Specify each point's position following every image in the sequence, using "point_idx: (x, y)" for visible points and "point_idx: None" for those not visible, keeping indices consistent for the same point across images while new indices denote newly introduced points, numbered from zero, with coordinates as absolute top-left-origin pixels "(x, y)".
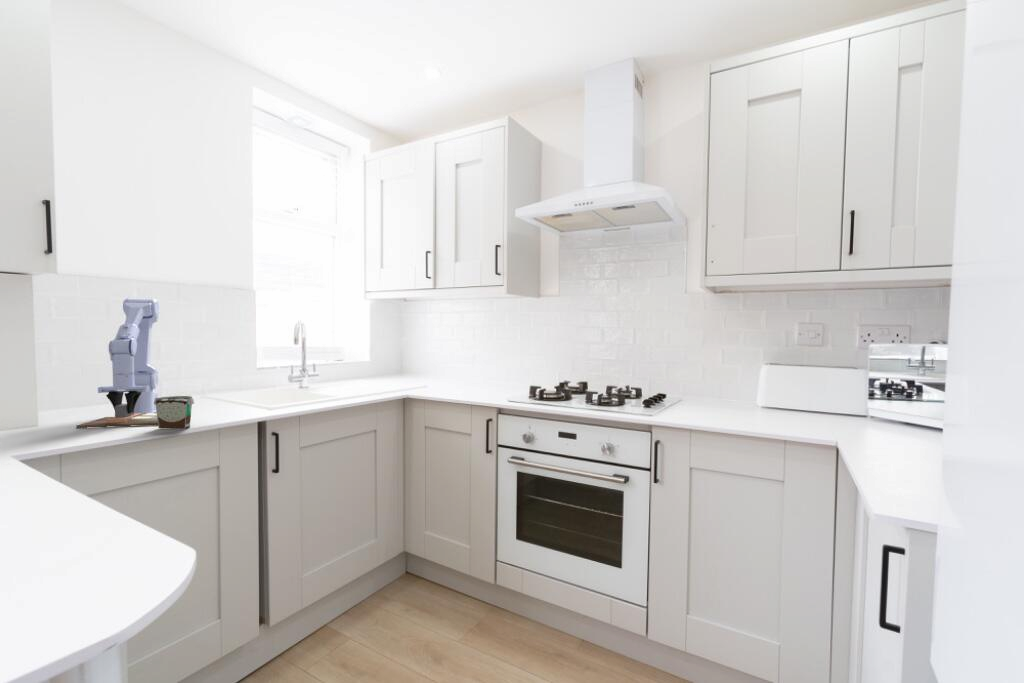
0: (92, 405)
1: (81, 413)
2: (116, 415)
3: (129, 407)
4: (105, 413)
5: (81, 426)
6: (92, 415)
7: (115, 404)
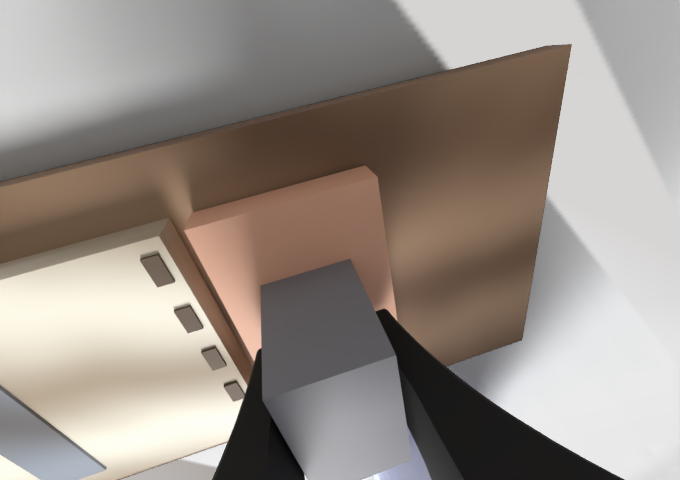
0: (669, 458)
1: (668, 388)
2: (343, 276)
3: (245, 405)
4: (583, 411)
5: (520, 54)
6: (617, 377)
7: (419, 390)
